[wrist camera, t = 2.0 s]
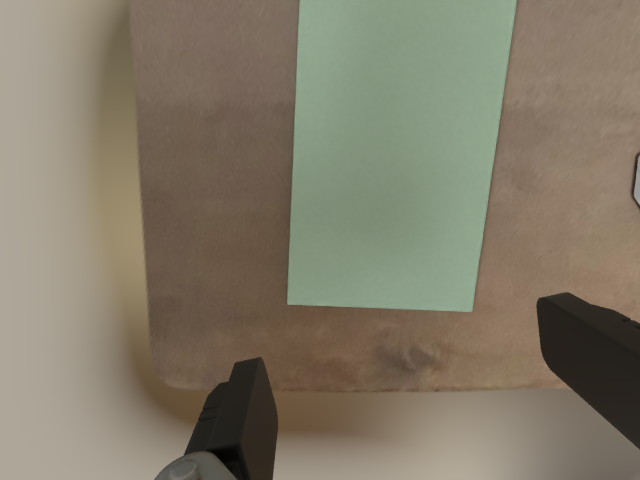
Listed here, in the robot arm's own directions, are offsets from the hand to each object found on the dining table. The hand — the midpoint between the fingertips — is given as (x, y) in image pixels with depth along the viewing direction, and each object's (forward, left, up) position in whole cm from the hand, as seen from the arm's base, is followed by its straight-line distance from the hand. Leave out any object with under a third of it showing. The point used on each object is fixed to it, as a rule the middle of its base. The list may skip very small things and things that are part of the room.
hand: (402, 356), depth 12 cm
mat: (+2, +6, -18) cm, 19 cm away
